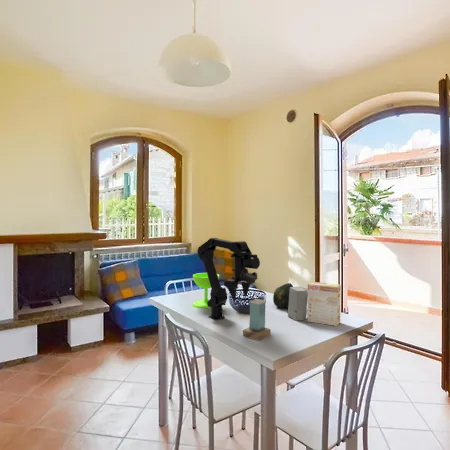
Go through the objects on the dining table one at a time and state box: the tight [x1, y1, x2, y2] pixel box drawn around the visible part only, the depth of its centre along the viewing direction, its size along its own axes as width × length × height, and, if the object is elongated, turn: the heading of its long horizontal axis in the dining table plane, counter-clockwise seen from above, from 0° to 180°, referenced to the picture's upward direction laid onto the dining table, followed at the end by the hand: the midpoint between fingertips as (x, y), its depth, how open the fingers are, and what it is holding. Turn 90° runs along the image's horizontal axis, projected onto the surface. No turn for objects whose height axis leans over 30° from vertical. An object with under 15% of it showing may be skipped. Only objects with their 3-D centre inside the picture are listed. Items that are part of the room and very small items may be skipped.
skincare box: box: [287, 286, 308, 322], centre depth 174 cm, size 8×7×16 cm
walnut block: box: [242, 327, 272, 341], centre depth 149 cm, size 9×9×3 cm
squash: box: [272, 282, 294, 309], centre depth 195 cm, size 14×15×15 cm
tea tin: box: [248, 298, 267, 332], centre depth 149 cm, size 5×5×13 cm
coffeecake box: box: [307, 281, 342, 327], centre depth 168 cm, size 15×7×20 cm, turn 58°
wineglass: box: [192, 272, 220, 309], centre depth 199 cm, size 16×16×18 cm
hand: (239, 298), depth 163 cm, fingers open, 9 cm apart
